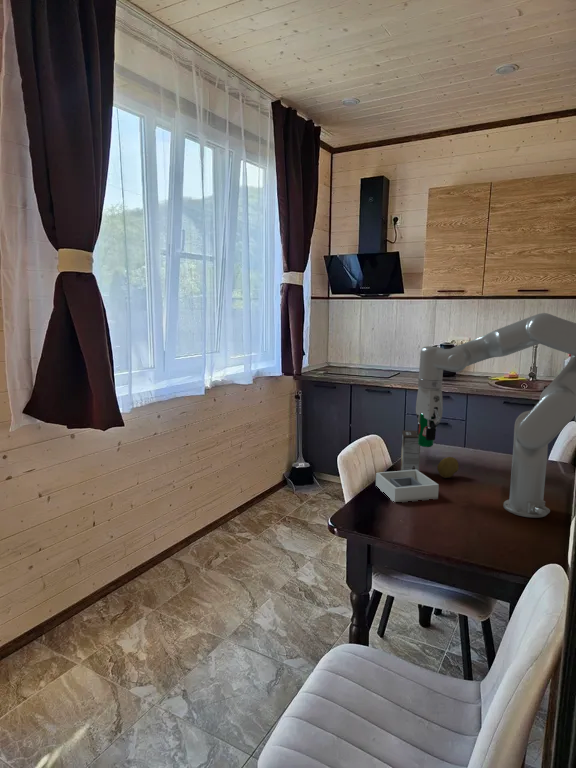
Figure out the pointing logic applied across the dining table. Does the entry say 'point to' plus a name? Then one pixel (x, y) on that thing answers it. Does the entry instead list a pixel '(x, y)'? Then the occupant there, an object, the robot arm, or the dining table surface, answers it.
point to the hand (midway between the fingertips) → (425, 436)
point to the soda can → (424, 432)
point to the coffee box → (410, 451)
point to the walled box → (407, 485)
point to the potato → (448, 467)
